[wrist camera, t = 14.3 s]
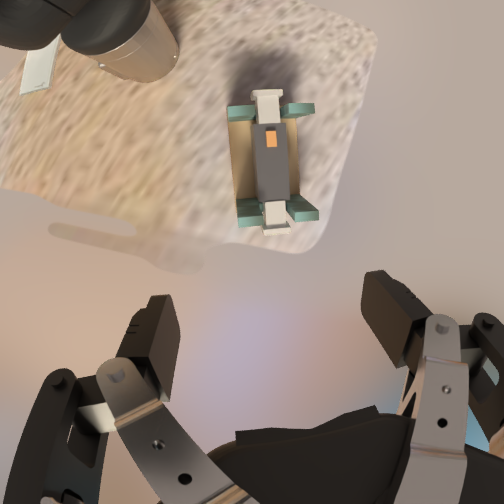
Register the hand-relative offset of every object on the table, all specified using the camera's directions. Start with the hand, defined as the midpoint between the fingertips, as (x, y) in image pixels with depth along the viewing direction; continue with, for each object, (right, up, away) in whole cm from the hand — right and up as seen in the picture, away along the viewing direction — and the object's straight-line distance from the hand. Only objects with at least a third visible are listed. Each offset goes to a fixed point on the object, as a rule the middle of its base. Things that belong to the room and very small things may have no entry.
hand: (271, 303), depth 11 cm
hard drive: (-39, +37, +18) cm, 56 cm away
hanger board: (+1, +16, +29) cm, 33 cm away
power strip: (+1, +15, +27) cm, 31 cm away
